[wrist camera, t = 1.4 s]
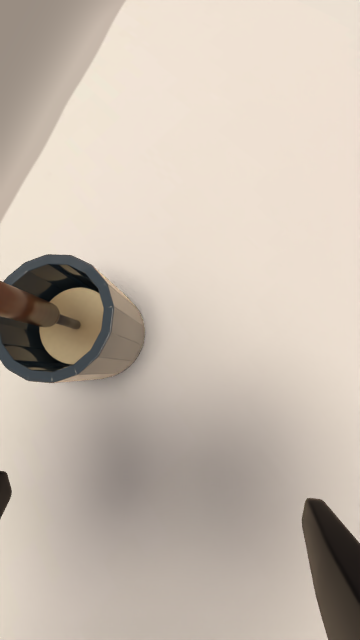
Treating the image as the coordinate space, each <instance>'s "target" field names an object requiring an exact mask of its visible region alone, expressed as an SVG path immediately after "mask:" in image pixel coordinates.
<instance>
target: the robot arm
mask: <svg viewBox="0 0 360 640" xmlns="http://www.w3.org/2000/svg"><path fill="white" fill-rule="evenodd" d="M11 493H12V490H11V486H10V483H9V479H8V475H7V473H6V472H4V471H0V518H1V516H2V514H3V512H4V510H5V508H6V506H7V504H8V502H9V500H10V497H11ZM302 527H303V533H304V538H305V543H306V548H307V553H308V559H309V564H310V569H311V574H312V579H313V584H314V589H315V594H316V598H317V602H318V606H319V609H320V613H321V616H322V620H323V623H324V627H325V630H326V634H327V637H328V640H360V543H359V542H358V541H357V540H356V538H355V537H354V536H353V535H352V534H351V533H350V531H349V530H348V529H347V528H346V527H345V526H344V524H343V523H342V522H341V521H340V520H339V519H338V517H337V516H336V515H335V514H334V513H333V512H332V510H331V509H330V508H329V507H328V506H327V505H326V503H325V502H324V501H322V500H321V499H313V498H307V499H306V501H305V505H304V511H303V516H302Z"/></svg>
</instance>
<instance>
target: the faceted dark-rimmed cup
mask: <svg viewBox="0 0 360 640" xmlns="http://www.w3.org/2000/svg"><path fill="white" fill-rule="evenodd" d="M4 283H6V284H9V285H11V286H13V287H16V288H18V289H20V290H23V291H25V292H27V293H30V294H32V295H34V296H37V297H39V298H41V299H44V300H46V301H48V302H50V301H51V300H52V299H53V298H54V297H55V296H57V295H58V294H59V293H61V292H63V291H65V290H68V289H71V288H88V289H92V290H94V291H96V292H98V293H99V294H100V297H101V301H102V304H103V308H104V310H103V318H102V327H101V331H100V333H99V335H98V337H97V339H96V340H95V342H94V344H93V346H92V348H91V350H90V351H88V352H87V353H86V354H85V355H84V356H83V357H82V358H80V359H79V360H78V361H77V362H76V363H75V364H73V365H72V364H66V363H62V362H60V361H58V360H56V359H55V358H53V357H52V356H51V355H50V354H49V353H48V352H47V351H46V349H45V348H44V346H43V344H42V341H41V338H40V330H39V327H40V326H36V325H32V324H28V323H24V322H20V321H16V320H13V319H9V318H5V317H1V316H0V360H1V361H2V363H3V364H4V366H5V367H6V368H7V369H8V370H10V371H11V372H13V373H15V374H17V375H18V376H20V377H22V378H23V379H25V380H27V381H33V382H44V383H59V382H71V381H84V380H96V379H104V378H108V377H112V376H115V375H117V374H119V373H121V372H123V371H124V370H126V369H127V368H128V367H129V366H130V365H131V364H132V363H133V362H134V361H135V360H136V358H137V357H138V355H139V354H140V351H141V349H142V346H143V343H144V337H145V328H144V322H143V319H142V316H141V314H140V312H139V310H138V309H137V307H136V306H135V305H134V304H133V303H132V302H131V300H130V299H129V298H128V297H127V296H126V295H125V294H124V293H122V292H121V291H120V290H119V289H118V288H117V287H116V286H115V285H114V284H113V283H111V282H110V281H109V280H108V279H107V278H106V277H105V276H104V275H103V274H101V273H100V272H99V271H98V270H97V269H96V268H95V267H94V266H92V265H91V264H89V263H87V262H85V261H83V260H80V259H78V258H76V257H74V256H71V255H51V254H48V255H44V256H42V257H39V258H36V259H33V260H30V261H28V262H25V263H24V264H22V265H21V266H20V267H19V268H18V269H16V270H15V271H14V272H13V273H12V274H10V275H9V276H8V277H7V278H6V279H5V280H4Z"/></svg>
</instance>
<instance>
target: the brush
mask: <svg viewBox="0 0 360 640" xmlns="http://www.w3.org/2000/svg"><path fill="white" fill-rule="evenodd" d="M103 310H104V308H103V304H102V301H101V297H100V294H99V293H98V292H96V291H94V290H92V289H88V288H71V289H68V290H65V291H63V292H61V293H59V294H58V295H57V296H55V297H54V298H53V299H52V300H51V301H50V302H48V301H46V300H44V299H41V298H39V297H37V296H34V295H32V294H30V293H27V292H25V291H23V290H20V289H18V288H16V287H13V286H11V285H9V284H6V283H4V282H2V281H0V316H1V317H5V318H9V319H13V320H16V321H20V322H24V323H28V324H32V325H36V326H40V327H39V330H40V338H41V341H42V344H43V346H44V348H45V349H46V351H47V352H48V353H49V354H50V355H51V356H52V357H53V358H55V359H56V360H58V361H60V362H62V363H66V364H72V365H73V364H75V363H76V362H77V361H78V360H79V359H80V358H82V357H83V356H84V355H85V354H86V353H87V352H88V351H90V350H91V348H92V346H93V344H94V342H95V340H96V339H97V337H98V335H99V333H100V331H101V327H102V318H103Z"/></svg>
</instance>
